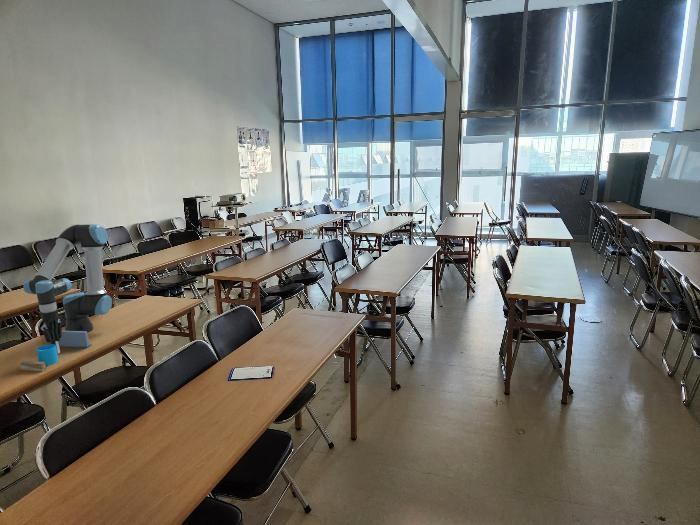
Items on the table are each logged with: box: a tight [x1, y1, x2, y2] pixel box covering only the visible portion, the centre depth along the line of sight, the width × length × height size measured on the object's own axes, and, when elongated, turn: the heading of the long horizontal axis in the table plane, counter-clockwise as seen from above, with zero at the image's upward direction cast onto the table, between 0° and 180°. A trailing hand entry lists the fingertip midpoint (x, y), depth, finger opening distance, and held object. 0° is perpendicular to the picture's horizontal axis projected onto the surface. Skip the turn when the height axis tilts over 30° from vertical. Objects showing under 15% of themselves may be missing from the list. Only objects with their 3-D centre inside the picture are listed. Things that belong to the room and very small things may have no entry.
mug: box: [36, 343, 59, 367], centre depth 232 cm, size 12×8×8 cm
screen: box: [59, 330, 93, 349], centre depth 250 cm, size 4×18×9 cm, turn 82°
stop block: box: [19, 360, 47, 372], centre depth 223 cm, size 2×12×4 cm, turn 82°
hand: (56, 352), depth 238 cm, fingers closed
